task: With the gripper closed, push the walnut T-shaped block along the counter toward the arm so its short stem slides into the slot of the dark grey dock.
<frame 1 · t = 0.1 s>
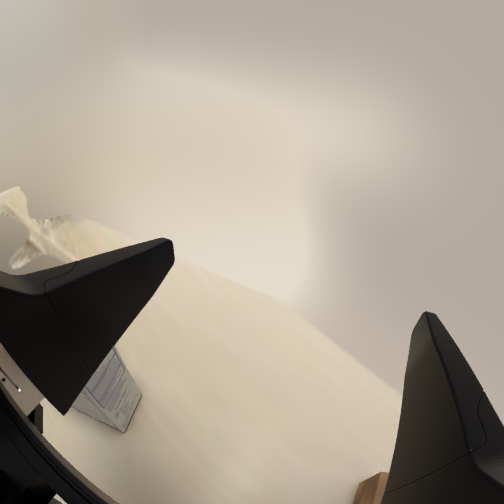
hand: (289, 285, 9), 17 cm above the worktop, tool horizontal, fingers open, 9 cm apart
medicine box: (99, 400, 20), on the worktop
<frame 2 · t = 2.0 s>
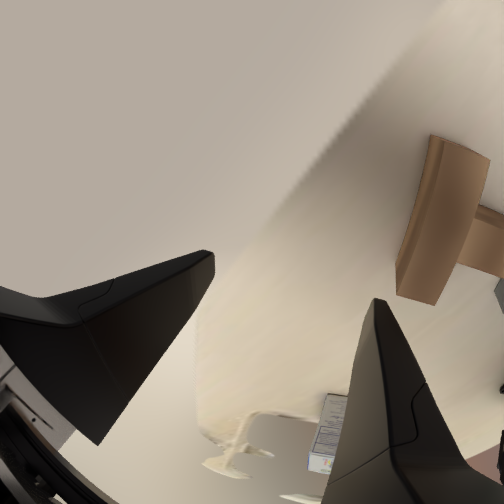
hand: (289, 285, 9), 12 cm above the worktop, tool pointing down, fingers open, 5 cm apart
t block: (462, 219, 15), on the worktop
medicine box: (342, 408, 31), on the worktop
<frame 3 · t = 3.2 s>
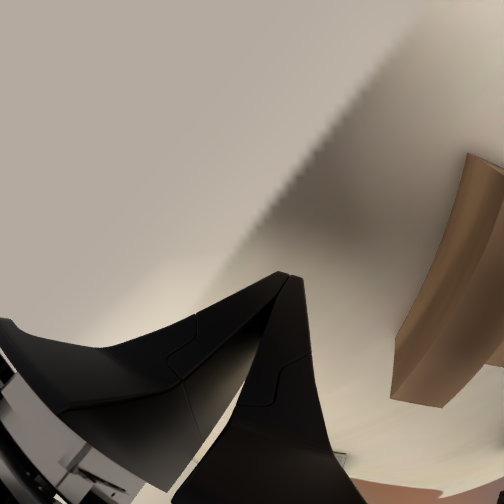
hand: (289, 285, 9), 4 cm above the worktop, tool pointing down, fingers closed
t block: (497, 282, 9), on the worktop
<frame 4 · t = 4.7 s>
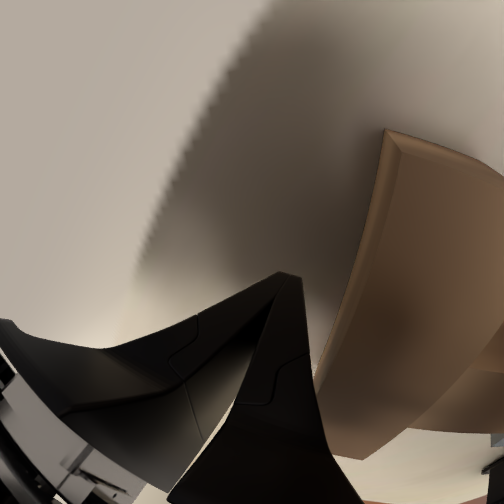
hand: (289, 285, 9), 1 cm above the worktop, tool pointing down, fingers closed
t block: (450, 308, 8), on the worktop, touching gripper
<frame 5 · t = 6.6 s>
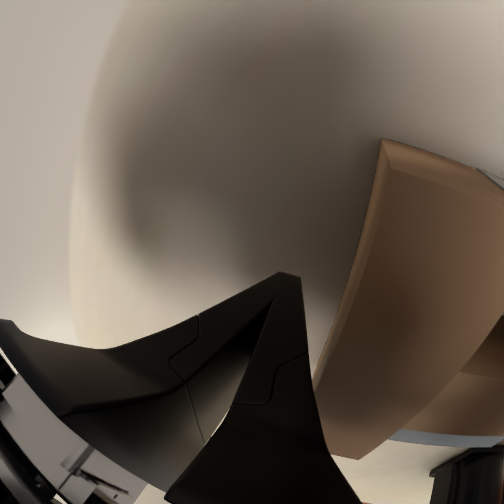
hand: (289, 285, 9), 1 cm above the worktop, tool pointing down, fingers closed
t block: (445, 313, 8), on the worktop, touching gripper, t dock
t dock: (497, 321, 7), on the worktop
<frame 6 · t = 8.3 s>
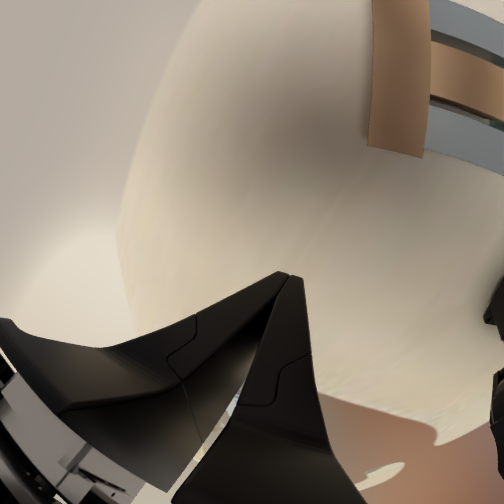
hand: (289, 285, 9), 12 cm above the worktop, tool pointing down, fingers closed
t block: (432, 78, 12), on the worktop
t dock: (467, 86, 11), on the worktop
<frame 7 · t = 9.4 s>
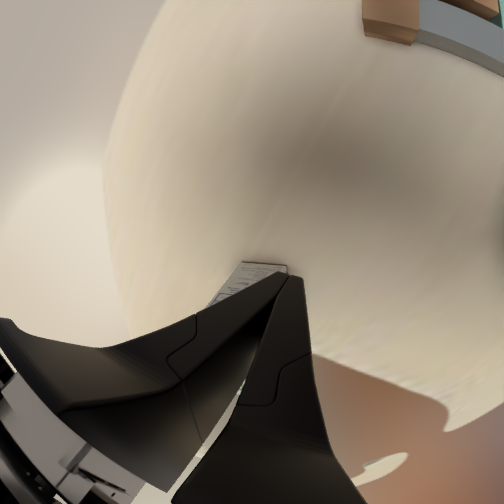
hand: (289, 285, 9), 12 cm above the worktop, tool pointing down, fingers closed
t dock: (458, 0, 7), on the worktop
medicine box: (270, 296, 26), on the worktop
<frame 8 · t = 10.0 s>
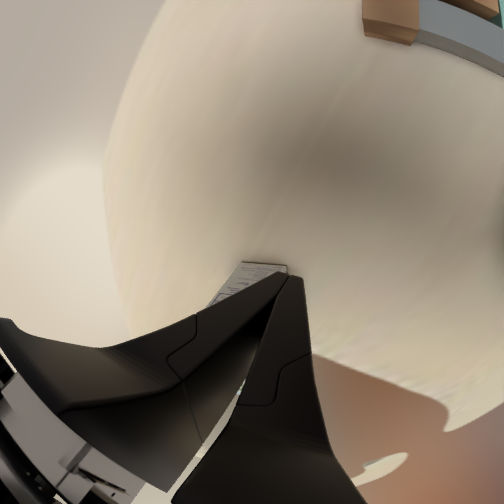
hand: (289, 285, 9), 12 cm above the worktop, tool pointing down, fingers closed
t dock: (458, 0, 7), on the worktop
medicine box: (270, 296, 26), on the worktop
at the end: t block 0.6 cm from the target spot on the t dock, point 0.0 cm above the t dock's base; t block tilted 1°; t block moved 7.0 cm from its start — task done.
